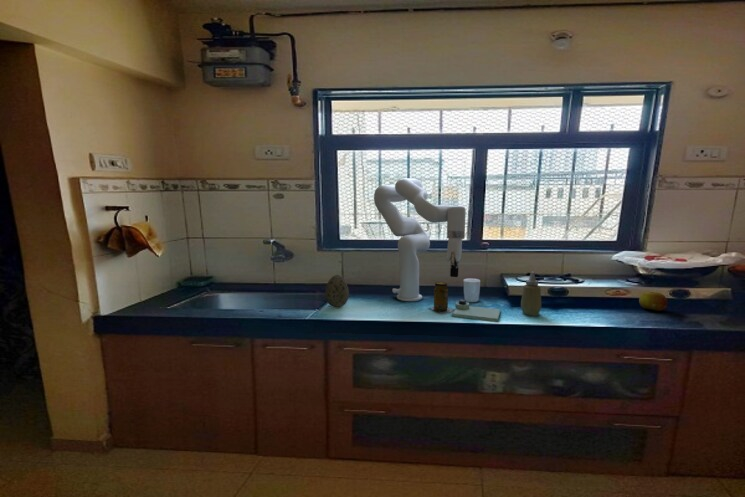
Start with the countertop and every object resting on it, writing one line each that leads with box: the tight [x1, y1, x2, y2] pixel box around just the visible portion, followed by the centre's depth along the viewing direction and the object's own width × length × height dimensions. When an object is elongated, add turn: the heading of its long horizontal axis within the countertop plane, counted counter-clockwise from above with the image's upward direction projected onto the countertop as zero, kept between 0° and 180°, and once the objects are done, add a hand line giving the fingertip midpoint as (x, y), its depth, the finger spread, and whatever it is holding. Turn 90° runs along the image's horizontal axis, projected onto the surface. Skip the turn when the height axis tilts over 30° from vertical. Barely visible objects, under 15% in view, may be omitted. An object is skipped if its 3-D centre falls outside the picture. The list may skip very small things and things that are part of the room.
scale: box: [451, 301, 501, 322], centre depth 148 cm, size 18×13×3 cm
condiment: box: [429, 281, 455, 314], centre depth 154 cm, size 7×8×12 cm
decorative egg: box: [324, 274, 350, 309], centre depth 160 cm, size 11×11×15 cm
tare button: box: [458, 299, 467, 305], centre depth 154 cm, size 3×3×2 cm
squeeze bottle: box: [520, 271, 543, 317], centre depth 147 cm, size 8×8×18 cm
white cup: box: [462, 277, 481, 303], centre depth 169 cm, size 8×8×10 cm
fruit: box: [638, 291, 668, 312], centre depth 150 cm, size 10×9×8 cm
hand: (454, 276), depth 153 cm, fingers closed
